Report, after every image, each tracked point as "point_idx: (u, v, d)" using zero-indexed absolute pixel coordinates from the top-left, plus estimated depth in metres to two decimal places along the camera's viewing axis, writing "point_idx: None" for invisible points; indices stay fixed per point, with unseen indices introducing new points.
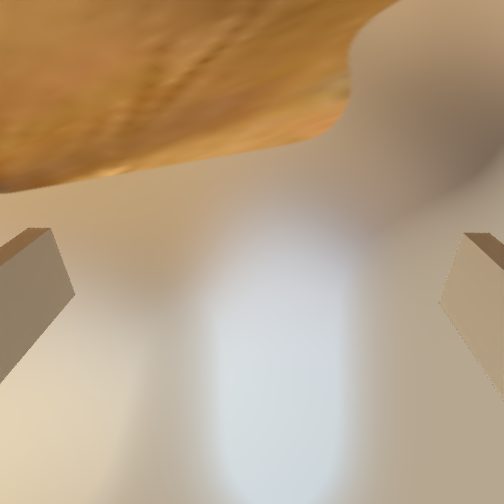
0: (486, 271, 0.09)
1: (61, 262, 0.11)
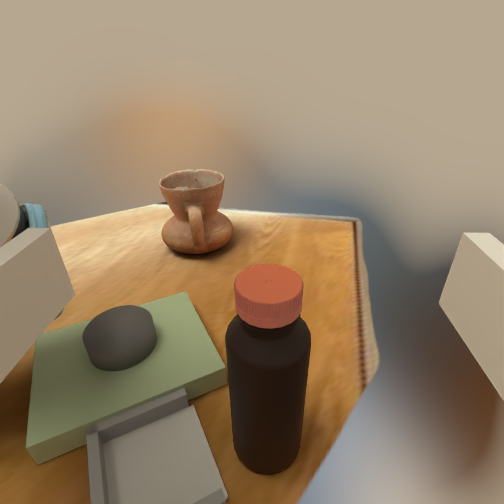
0: (486, 270, 0.09)
1: (61, 262, 0.11)
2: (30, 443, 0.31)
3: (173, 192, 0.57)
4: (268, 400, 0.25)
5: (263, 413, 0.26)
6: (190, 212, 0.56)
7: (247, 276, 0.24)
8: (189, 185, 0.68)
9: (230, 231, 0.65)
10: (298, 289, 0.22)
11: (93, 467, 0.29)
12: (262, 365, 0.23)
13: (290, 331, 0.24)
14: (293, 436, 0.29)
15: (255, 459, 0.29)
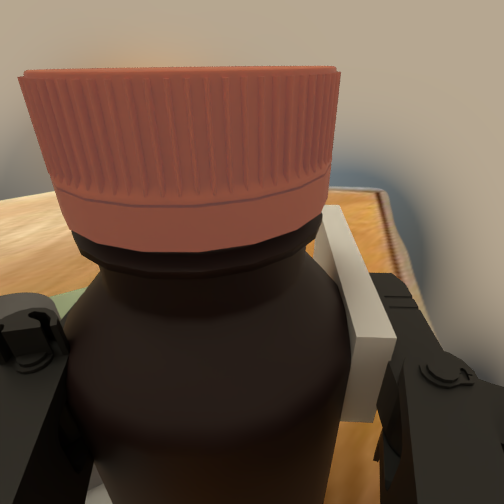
0: (322, 233, 0.11)
1: None
2: None
3: None
4: None
5: None
6: None
7: None
8: None
9: None
10: None
11: None
12: (116, 422, 0.05)
13: (262, 297, 0.06)
14: None
15: None
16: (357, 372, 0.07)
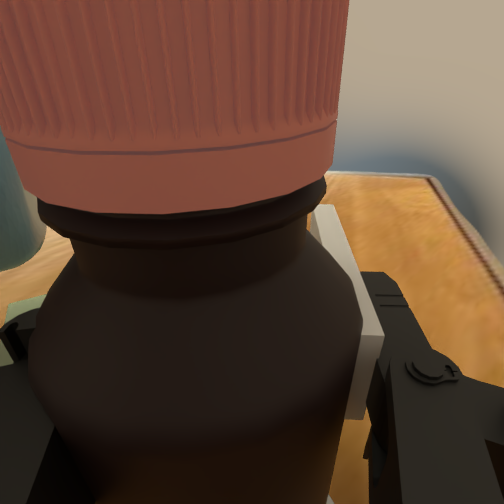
0: (315, 232, 0.11)
1: None
2: None
3: None
4: None
5: None
6: None
7: None
8: None
9: None
10: None
11: None
12: (75, 413, 0.05)
13: (249, 276, 0.05)
14: None
15: None
16: None
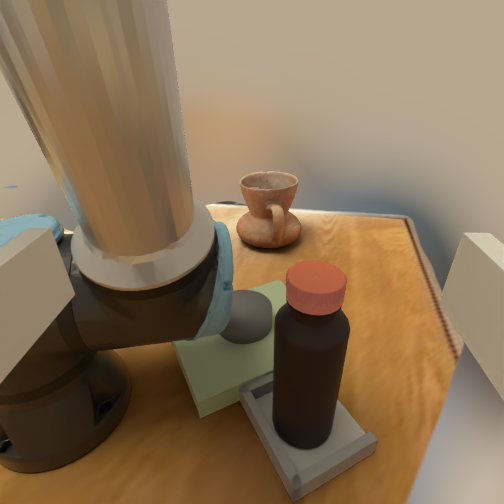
0: (486, 271, 0.09)
1: (61, 262, 0.11)
2: (200, 398, 0.37)
3: (257, 192, 0.64)
4: (302, 377, 0.29)
5: (297, 389, 0.30)
6: (274, 210, 0.63)
7: (299, 268, 0.28)
8: (260, 186, 0.74)
9: (300, 227, 0.72)
10: (340, 285, 0.26)
11: (258, 416, 0.35)
12: (300, 345, 0.27)
13: (329, 321, 0.27)
14: (323, 419, 0.32)
15: (287, 430, 0.34)
16: None
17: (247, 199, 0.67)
